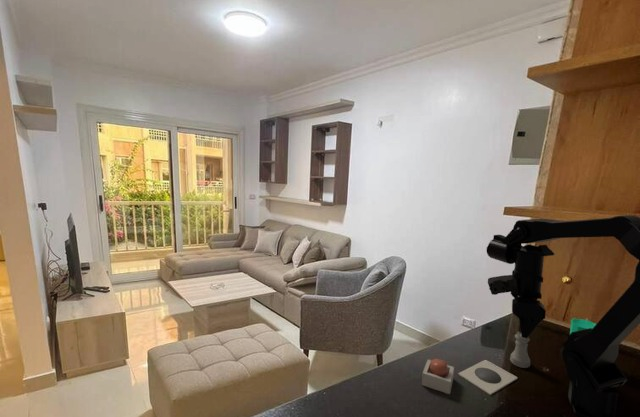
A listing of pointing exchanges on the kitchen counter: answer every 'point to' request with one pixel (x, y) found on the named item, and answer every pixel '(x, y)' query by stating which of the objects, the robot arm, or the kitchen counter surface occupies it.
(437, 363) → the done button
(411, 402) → the kitchen counter surface
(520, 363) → the rook chess piece
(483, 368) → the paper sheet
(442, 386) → the button housing
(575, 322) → the candle
